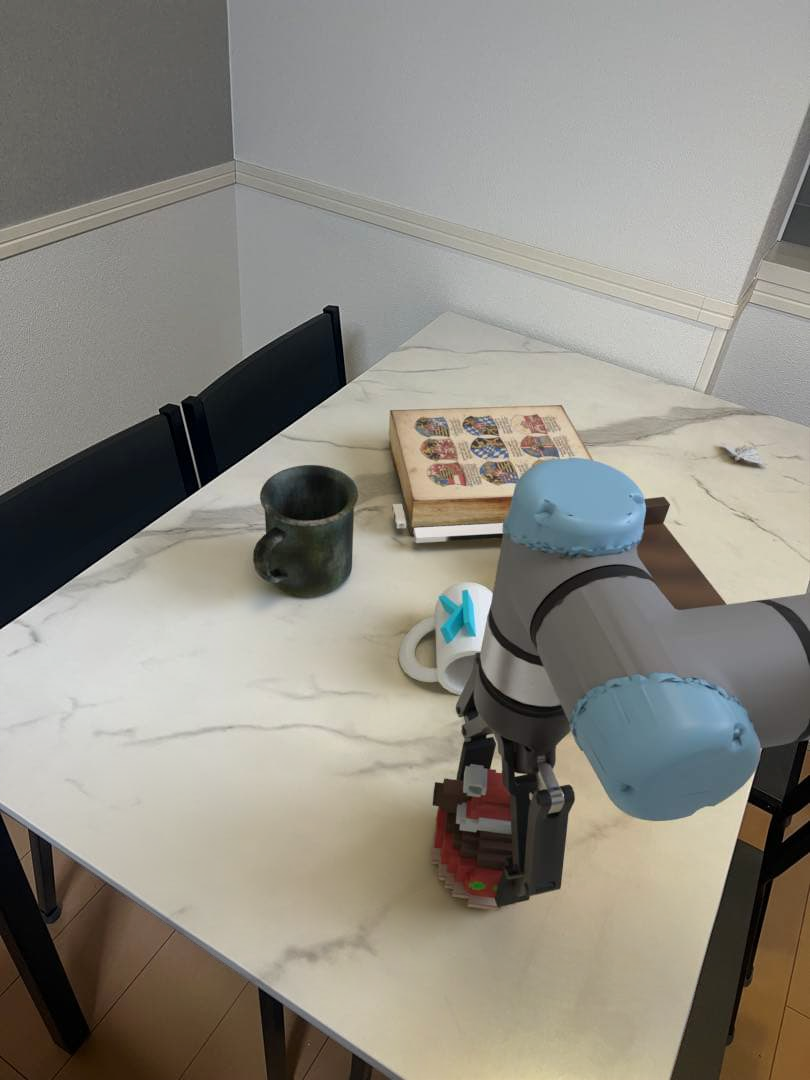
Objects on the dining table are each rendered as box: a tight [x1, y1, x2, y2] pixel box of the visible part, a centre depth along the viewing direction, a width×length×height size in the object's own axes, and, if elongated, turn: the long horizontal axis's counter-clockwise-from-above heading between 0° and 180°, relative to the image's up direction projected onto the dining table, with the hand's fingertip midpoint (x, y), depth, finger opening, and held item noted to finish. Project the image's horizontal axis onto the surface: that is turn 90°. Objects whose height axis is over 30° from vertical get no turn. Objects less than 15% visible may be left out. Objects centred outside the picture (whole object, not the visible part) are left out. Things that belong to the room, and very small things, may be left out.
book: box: [388, 404, 594, 544], centre depth 111 cm, size 25×6×28 cm
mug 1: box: [252, 464, 359, 598], centre depth 93 cm, size 11×15×12 cm
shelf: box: [637, 496, 727, 610], centre depth 93 cm, size 20×18×9 cm
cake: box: [430, 764, 517, 911], centre depth 65 cm, size 11×9×18 cm
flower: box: [721, 442, 769, 466], centre depth 124 cm, size 8×8×3 cm
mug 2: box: [398, 581, 493, 696], centre depth 87 cm, size 12×9×12 cm
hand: (489, 839), depth 68 cm, fingers closed on cake, 10 cm apart
